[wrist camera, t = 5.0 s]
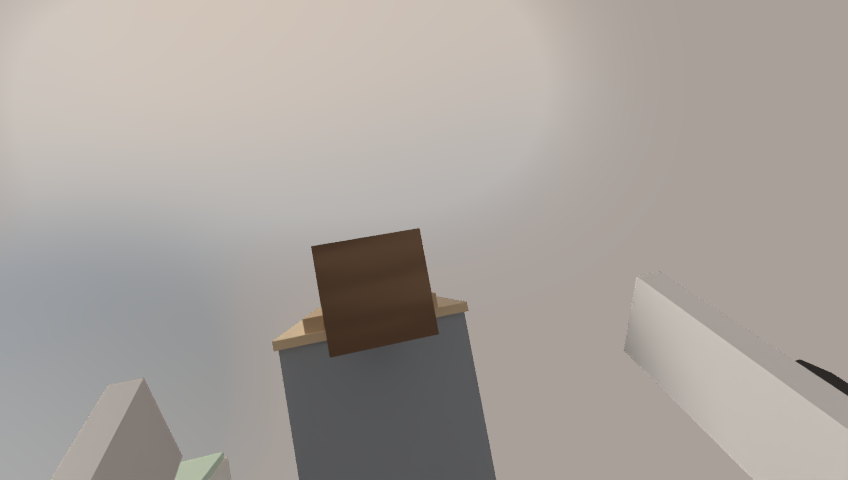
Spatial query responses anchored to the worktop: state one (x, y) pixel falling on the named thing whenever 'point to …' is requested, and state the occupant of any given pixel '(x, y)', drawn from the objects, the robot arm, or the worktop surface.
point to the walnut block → (374, 291)
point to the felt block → (205, 468)
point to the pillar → (386, 405)
